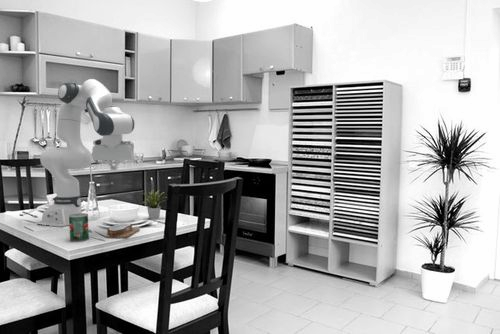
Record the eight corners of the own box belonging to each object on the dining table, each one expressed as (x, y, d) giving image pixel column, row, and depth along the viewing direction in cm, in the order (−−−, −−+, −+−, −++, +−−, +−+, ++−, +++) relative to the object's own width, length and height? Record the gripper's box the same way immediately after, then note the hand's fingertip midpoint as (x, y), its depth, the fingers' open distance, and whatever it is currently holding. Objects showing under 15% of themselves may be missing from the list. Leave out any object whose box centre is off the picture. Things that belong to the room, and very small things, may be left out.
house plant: (147, 223, 226) (146, 191, 224) (134, 218, 236) (133, 189, 234) (171, 218, 235) (170, 188, 234) (157, 215, 245) (156, 186, 244)
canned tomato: (92, 239, 194) (91, 215, 193) (74, 242, 188) (73, 217, 187) (84, 236, 200) (83, 212, 199) (67, 239, 194) (65, 215, 193)
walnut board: (107, 238, 196) (107, 235, 196) (121, 230, 211) (121, 228, 211) (126, 238, 195) (126, 236, 195) (139, 230, 210) (139, 228, 209)
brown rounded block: (103, 235, 196) (121, 237, 195) (103, 228, 196) (121, 230, 195) (118, 227, 211) (135, 229, 210) (118, 221, 211) (135, 223, 210)
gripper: (136, 140, 211) (137, 169, 212) (96, 140, 214) (97, 169, 215) (130, 141, 205) (131, 170, 206) (89, 141, 207) (91, 170, 209)
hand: (113, 169), depth 210 cm, fingers closed
